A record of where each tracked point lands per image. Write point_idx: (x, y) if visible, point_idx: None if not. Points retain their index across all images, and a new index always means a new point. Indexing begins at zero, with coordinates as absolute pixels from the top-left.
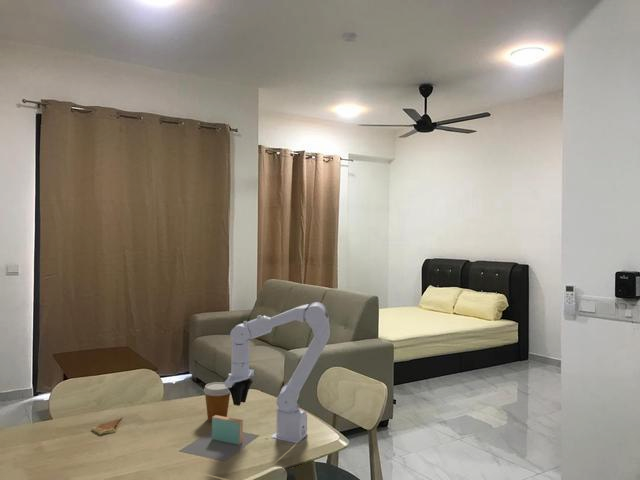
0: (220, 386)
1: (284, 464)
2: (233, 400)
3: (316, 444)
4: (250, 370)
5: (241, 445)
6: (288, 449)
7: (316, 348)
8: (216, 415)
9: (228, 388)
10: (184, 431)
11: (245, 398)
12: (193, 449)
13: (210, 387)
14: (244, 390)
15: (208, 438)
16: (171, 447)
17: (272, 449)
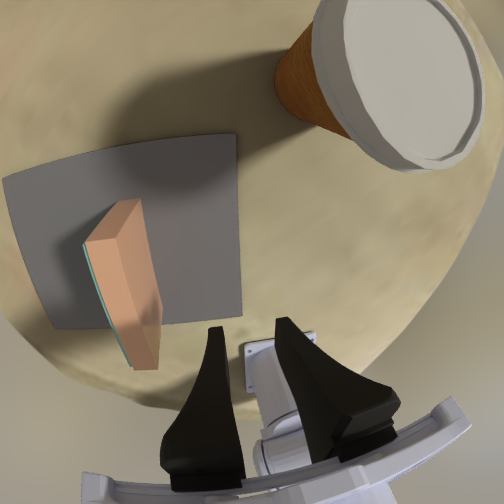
0: (439, 86)
1: (147, 406)
2: (206, 351)
3: None
4: (446, 446)
5: None
6: None
7: None
8: (114, 247)
9: (173, 423)
10: (139, 38)
11: (283, 368)
12: (29, 209)
13: (393, 15)
14: (300, 402)
15: (115, 184)
16: (13, 125)
17: (187, 372)
